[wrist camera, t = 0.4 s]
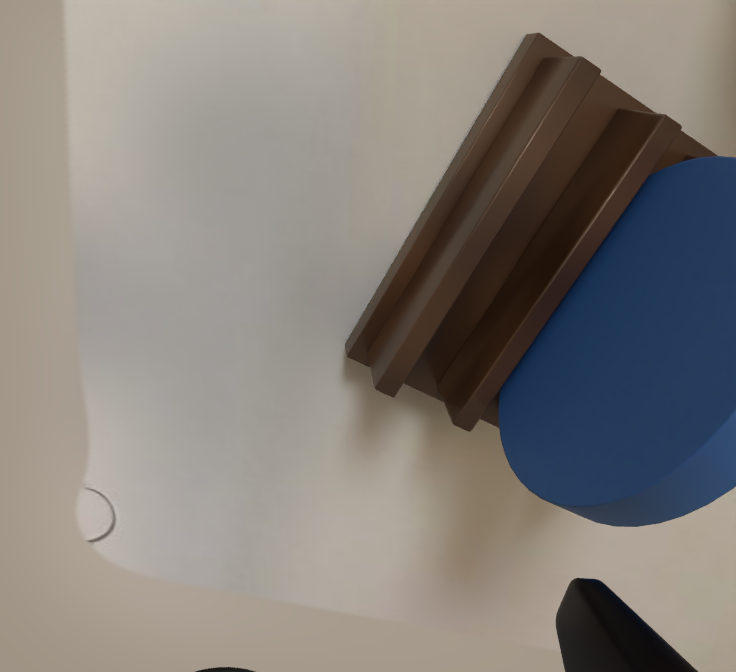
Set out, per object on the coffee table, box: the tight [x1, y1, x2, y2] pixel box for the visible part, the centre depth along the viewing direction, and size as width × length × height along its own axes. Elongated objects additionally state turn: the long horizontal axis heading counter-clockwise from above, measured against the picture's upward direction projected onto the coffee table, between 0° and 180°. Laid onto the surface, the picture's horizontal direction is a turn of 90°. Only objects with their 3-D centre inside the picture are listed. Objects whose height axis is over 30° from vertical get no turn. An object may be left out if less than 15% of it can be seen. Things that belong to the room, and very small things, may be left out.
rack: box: [345, 33, 717, 432], centre depth 23 cm, size 13×12×4 cm
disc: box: [498, 156, 736, 527], centre depth 19 cm, size 11×2×11 cm, turn 151°
